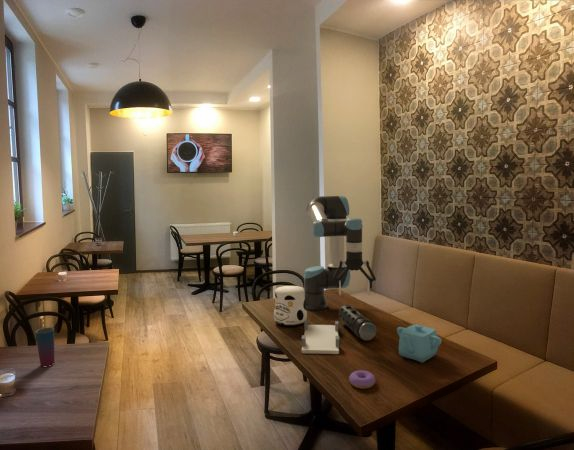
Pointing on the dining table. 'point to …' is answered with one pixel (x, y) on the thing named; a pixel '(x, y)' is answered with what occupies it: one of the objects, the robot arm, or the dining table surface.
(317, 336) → the mounting board
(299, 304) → the milk container
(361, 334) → the muzzle brake
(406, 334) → the teapot
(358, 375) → the donut
